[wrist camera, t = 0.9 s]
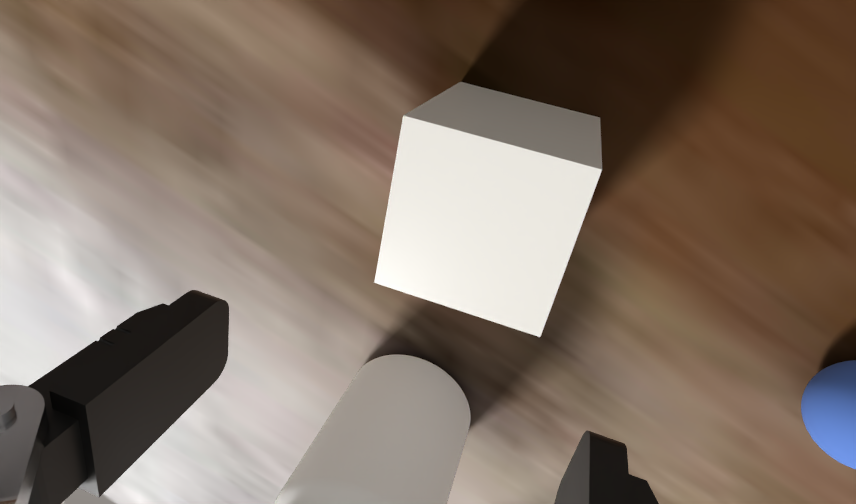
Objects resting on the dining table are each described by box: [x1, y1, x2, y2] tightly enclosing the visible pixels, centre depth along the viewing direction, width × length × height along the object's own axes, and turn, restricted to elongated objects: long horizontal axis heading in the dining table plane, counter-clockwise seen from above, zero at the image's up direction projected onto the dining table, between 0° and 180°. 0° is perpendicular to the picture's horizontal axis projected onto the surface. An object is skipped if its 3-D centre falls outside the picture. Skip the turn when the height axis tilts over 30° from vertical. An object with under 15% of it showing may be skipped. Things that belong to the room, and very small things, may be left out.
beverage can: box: [275, 354, 471, 504], centre depth 30 cm, size 8×8×12 cm
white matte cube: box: [374, 82, 602, 337], centre depth 23 cm, size 7×7×9 cm
